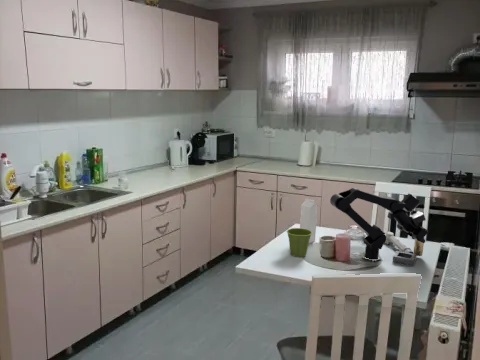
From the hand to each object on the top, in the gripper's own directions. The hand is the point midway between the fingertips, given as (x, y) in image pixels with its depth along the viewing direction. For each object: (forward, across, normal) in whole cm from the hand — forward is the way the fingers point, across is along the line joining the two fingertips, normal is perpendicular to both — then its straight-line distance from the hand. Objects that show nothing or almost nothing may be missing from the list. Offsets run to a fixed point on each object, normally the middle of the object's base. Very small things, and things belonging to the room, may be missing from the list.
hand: (422, 241), depth 221 cm
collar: (-2, -4, +13) cm, 14 cm away
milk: (-27, +27, +39) cm, 55 cm away
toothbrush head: (+2, +12, +10) cm, 16 cm away
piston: (+4, 0, +6) cm, 7 cm away
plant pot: (-35, +8, +47) cm, 59 cm away
